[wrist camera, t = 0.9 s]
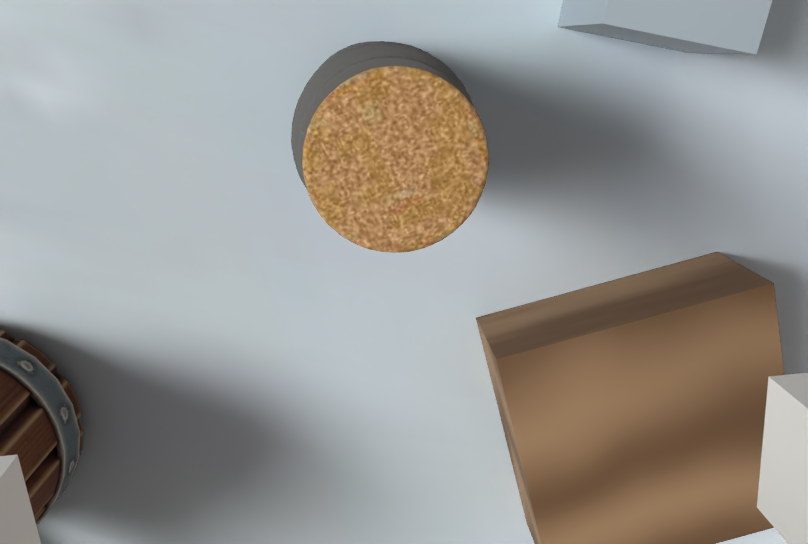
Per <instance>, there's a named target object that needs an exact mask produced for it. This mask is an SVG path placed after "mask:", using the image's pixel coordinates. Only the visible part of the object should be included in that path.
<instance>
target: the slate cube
mask: <svg viewBox="0 0 808 544" xmlns="http://www.w3.org/2000/svg"><path fill="white" fill-rule="evenodd" d="M772 1H773V0H563V5H562V9H561V14H560V18H559V22H558V27H562V28H567V29H572V30H577V31H582V32H587V33H592V34H597V35H602V36H607V37H612V38H617V39H622V40H627V41H632V42H637V43H642V44H647V45H652V46H657V47H662V48H667V49H672V50H677V51H682V52H689V53H722V54H757V51H758V48H759V44H760V41H761V38H762V34H763V31H764V28H765V24H766V21H767V18H768V14H769V11H770V7H771V4H772Z"/></svg>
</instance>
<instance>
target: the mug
mask: <svg viewBox="0 0 808 544" xmlns="http://www.w3.org/2000/svg"><path fill="white" fill-rule="evenodd" d="M81 415H82V414H81V411H80V408H79V404H78V401H77V398H76V396H75V394H74V392H73V390H72V388H71V387H70V385H69V383H68V381H67V380H66V379H65V378H63V377H62V376H61V375H59V374H58V373H57V369H56V366H55V365H54V364H53V363H52V362H51V361H50V360H49V359H48V358H47V357H46V356H45V355H44V354H43V353H41V352H40V351H39V350H37V349H36V348H34V347H33V346H31V345H30V344H28V343H27V342H25V341H24V340H17V339H14V338H12V337H11V336H10V335H9V334H7V333H6V332H5V331H2V330H0V456H8V455H18V458H19V462H20V466H21V469H22V473H23V477H24V481H25V484H26V488H27V492H28V496H29V499H30V503H31V507H32V511H33V514H34V518H35V522H36V525H37V524H39V522H40V521H41V520H42V518H43V517H44V516H45V515H46V513H47V512H48V511H49V510H50V508H51V507H52V506H53V504H54V503H55V502H56V500H57V499H58V498H59V497H60V495H61V494H62V493H63V491H64V490H65V489H66V487H67V486H68V485H69V483H70V482H71V479H72V476H73V474H74V471H75V468H76V465H77V464H78V460H79V457H80V454H81V450H82V444H83V432H84V431H83V429H82V427H81V425H80V423H79V421H78V419H79V417H80V416H81Z"/></svg>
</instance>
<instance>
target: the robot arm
mask: <svg viewBox="0 0 808 544" xmlns="http://www.w3.org/2000/svg"><path fill="white" fill-rule="evenodd" d="M757 508H758V509H759V511H760V512H761V513H762V514H763V515H764V516H765V517H766V519H767V520H768V521H769V522H770V523H771V524H772V526H773V527H774V528H775V529H776V530H777V531H778V533H779V534H780V535H781V536H782V537H783V538H784V539H785V541H786V542H787V543H788V544H808V373H798V374H788V375H779V376H769V378H768V389H767V400H766V411H765V422H764V433H763V444H762V455H761V466H760V477H759V488H758V499H757ZM0 544H41V541H40V537H39V533H38V529H37V526H36V522H35V518H34V514H33V511H32V507H31V503H30V499H29V496H28V492H27V488H26V484H25V481H24V477H23V473H22V469H21V466H20V462H19V458H18V455H8V456H0Z"/></svg>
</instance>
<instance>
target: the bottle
mask: <svg viewBox="0 0 808 544" xmlns="http://www.w3.org/2000/svg"><path fill="white" fill-rule="evenodd" d="M291 143H292V150H293V156H294V160H295V164H296V168H297V171H298V173H299V176H300V178H301V180H302V182H303V183H304V185H305V187H306V188H307V190H308V193H309V196H310V198H311V200H312V202H313V204H314V206H315V207H316V209H317V211H318V212H319V214H320V215H321V216H322V218H323V219H324V220H325V221H326V222H327V224H328V225H329V226H331V227H332V228H333V229H334V230H335V231H336V232H337V233H339V234H340V235H341V236H343V237H344V238H346V239H348V240H349V241H351V242H353V243H355V244H357V245H359V246H362V247H365V248H367V249H371V250H376V251H381V252H409V251H414V250H418V249H422V248H425V247H428V246H430V245H432V244H435V243H437V242H439V241H441V240H443V239H444V238H445V237H447V236H448V235H450V234H451V233H453V232H454V231H455V230H456V229H457V228H458V227H459V226H460V225H461V224H463V222H464V221H465V220H466V219H467V218H468V217H469V215H470V214H471V213H472V211H473V210H474V208H475V207H476V205H477V203H478V201H479V198H480V196H481V194H482V191H483V189H484V186H485V183H486V178H487V172H488V165H489V156H488V146H487V139H486V134H485V131H484V128H483V125H482V123H481V121H480V118H479V116H478V114H477V112H476V111H475V109H474V107H473V104H472V102H471V99H470V97H469V95H468V93H467V91H466V89H465V87H464V86H463V84H462V83H461V81H460V80H459V79H458V78H457V77H456V75H455V74H454V73H453V72H452V71H451V70H450V69H449V68H448V67H447V66H446V65H445V64H444V63H442V62H441V61H440V60H438V59H437V58H435V57H433V56H432V55H430V54H429V53H427V52H425V51H423V50H421V49H418V48H415V47H412V46H410V45H406V44H400V43H395V42H383V41H381V42H364V43H358V44H355V45H351V46H348V47H346V48H344V49H342V50H340V51H338V52H337V53H335V54H334V55H332V56H331V57H329V58H328V59H327V60H326V61H325V62H324V63H323V64H322V65H321V66H320V67H319V69H318V70H317V71H316V72H315V73H314V75H313V76H312V77H311V79H310V80H309V82H308V83H307V84H306V86H305V88H304V90H303V92H302V94H301V96H300V98H299V100H298V103H297V106H296V109H295V112H294V117H293V122H292V138H291Z"/></svg>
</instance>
